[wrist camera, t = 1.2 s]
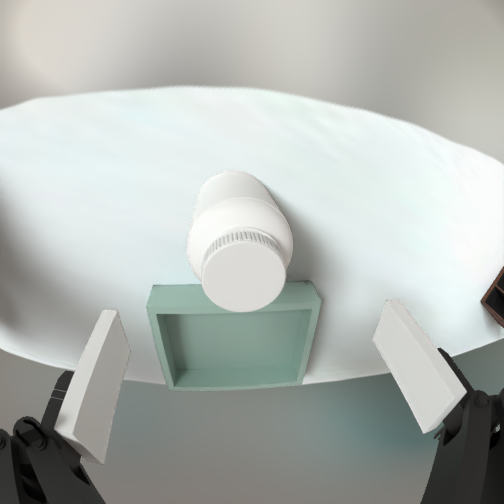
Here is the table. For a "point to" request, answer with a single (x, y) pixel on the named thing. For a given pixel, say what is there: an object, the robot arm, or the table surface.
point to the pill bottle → (238, 242)
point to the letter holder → (496, 298)
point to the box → (232, 338)
